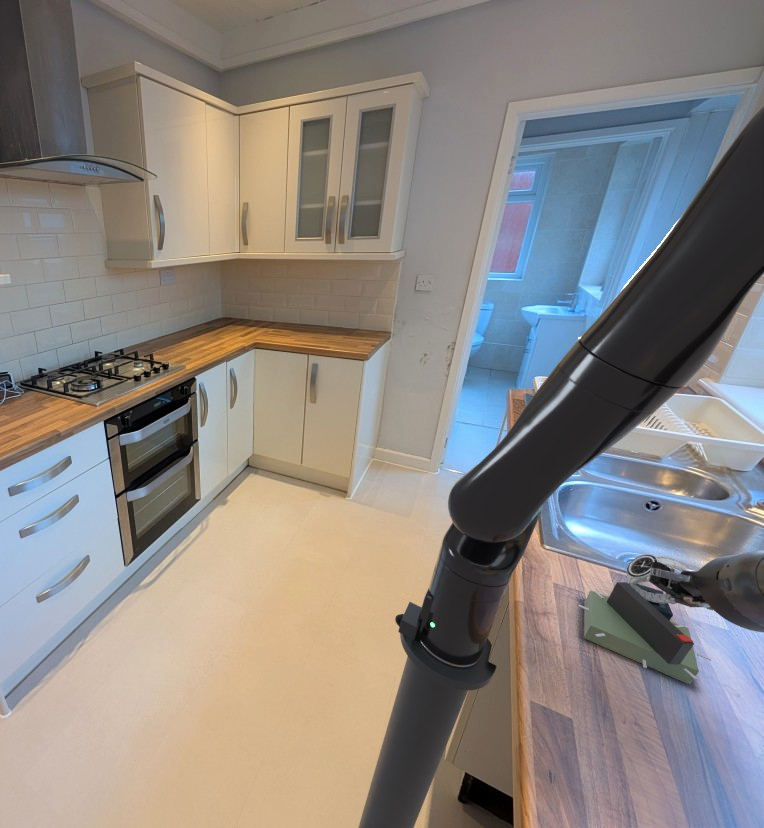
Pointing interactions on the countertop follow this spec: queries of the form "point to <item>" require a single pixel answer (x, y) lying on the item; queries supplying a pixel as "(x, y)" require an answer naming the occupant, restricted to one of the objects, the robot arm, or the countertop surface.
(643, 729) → the countertop surface
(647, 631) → the pointer
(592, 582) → the countertop surface
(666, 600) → the watch
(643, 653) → the dial panel
